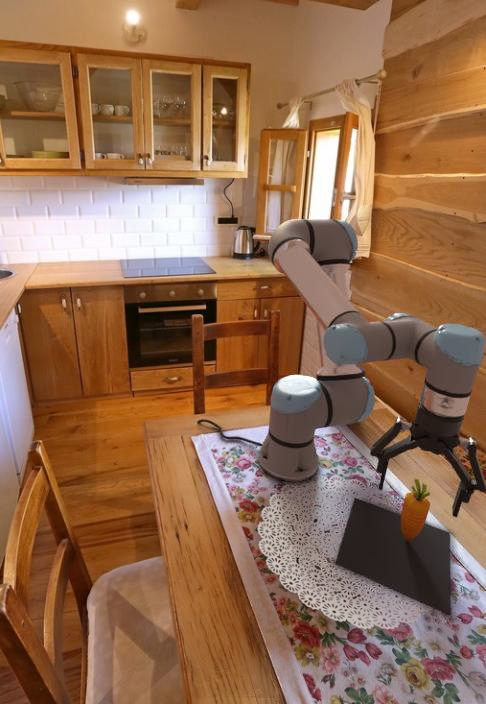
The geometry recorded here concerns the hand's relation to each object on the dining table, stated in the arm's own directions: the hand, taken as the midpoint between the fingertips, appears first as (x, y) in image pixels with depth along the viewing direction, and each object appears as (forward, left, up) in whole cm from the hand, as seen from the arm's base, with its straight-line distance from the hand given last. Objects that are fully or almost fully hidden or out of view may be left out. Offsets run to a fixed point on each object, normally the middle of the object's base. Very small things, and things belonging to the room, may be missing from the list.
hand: (416, 498), depth 82 cm
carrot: (0, 0, -11) cm, 11 cm away
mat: (-2, -3, -11) cm, 12 cm away
